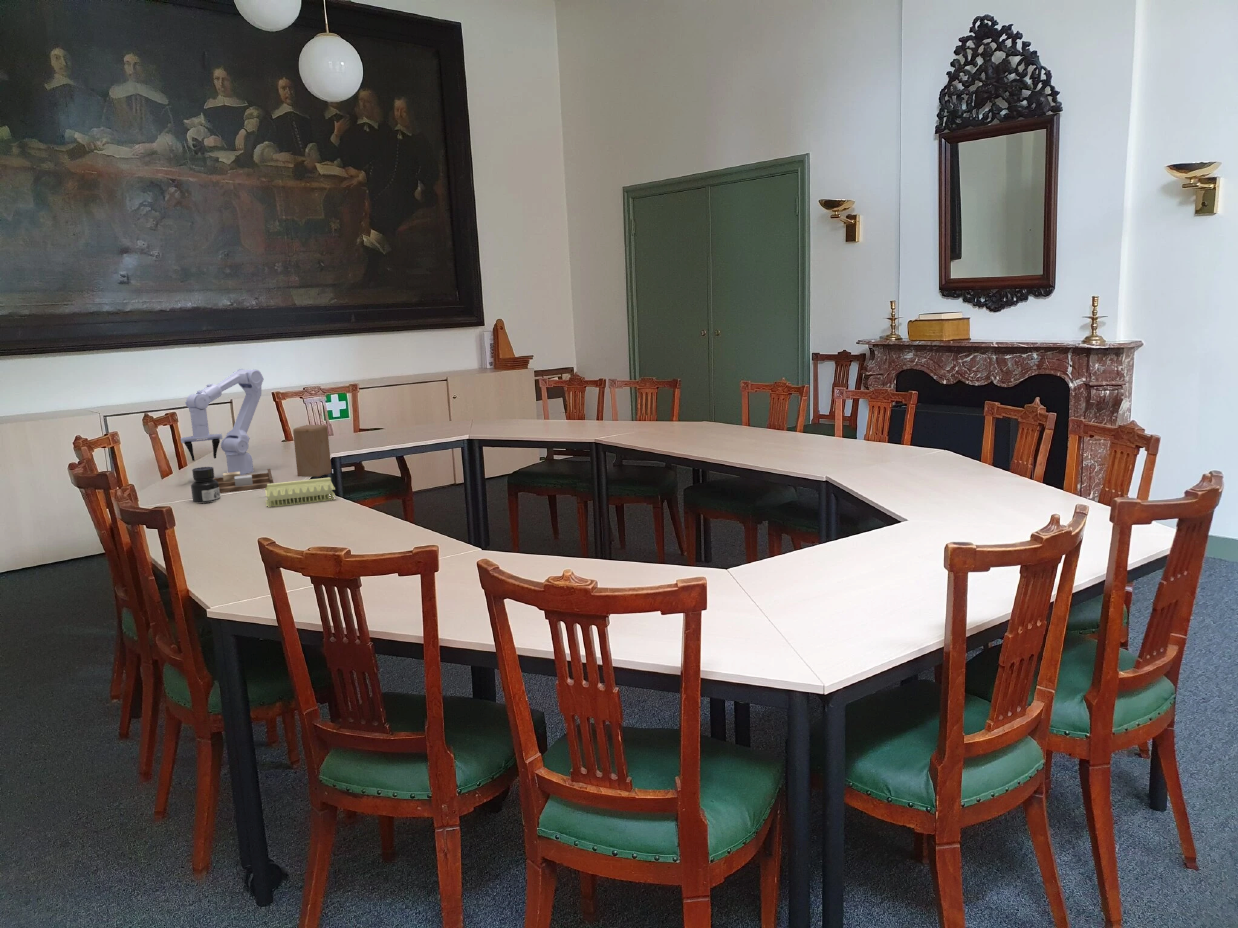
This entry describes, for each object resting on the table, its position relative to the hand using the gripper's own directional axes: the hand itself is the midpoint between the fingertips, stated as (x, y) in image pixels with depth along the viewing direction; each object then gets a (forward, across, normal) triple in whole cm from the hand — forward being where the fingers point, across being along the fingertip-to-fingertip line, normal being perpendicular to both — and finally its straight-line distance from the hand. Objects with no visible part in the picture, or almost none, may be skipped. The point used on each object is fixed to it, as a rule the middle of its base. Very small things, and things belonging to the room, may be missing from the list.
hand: (204, 459), depth 341 cm
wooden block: (+10, -38, +13) cm, 42 cm away
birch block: (+9, -4, +12) cm, 15 cm away
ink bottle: (+10, +4, +36) cm, 37 cm away
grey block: (+9, -11, +22) cm, 26 cm away
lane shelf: (+9, -9, +17) cm, 21 cm away
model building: (+10, -25, +54) cm, 61 cm away
